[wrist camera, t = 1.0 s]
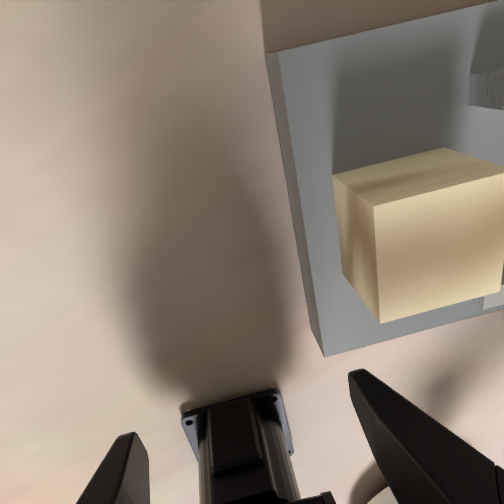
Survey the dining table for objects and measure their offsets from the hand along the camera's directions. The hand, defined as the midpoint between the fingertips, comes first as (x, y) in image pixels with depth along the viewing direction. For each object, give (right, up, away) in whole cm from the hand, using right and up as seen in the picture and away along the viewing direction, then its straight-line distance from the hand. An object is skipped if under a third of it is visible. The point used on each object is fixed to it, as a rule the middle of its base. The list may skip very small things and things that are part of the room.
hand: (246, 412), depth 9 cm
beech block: (+6, +6, +8) cm, 12 cm away
